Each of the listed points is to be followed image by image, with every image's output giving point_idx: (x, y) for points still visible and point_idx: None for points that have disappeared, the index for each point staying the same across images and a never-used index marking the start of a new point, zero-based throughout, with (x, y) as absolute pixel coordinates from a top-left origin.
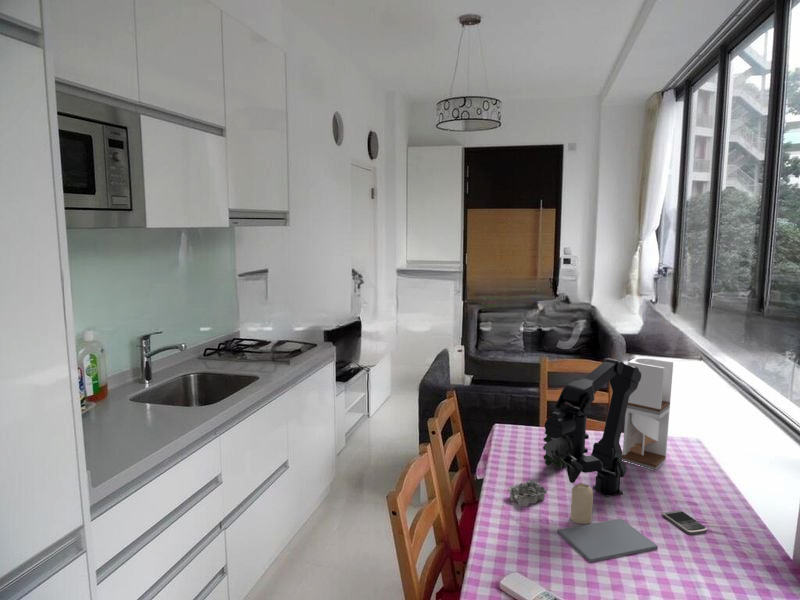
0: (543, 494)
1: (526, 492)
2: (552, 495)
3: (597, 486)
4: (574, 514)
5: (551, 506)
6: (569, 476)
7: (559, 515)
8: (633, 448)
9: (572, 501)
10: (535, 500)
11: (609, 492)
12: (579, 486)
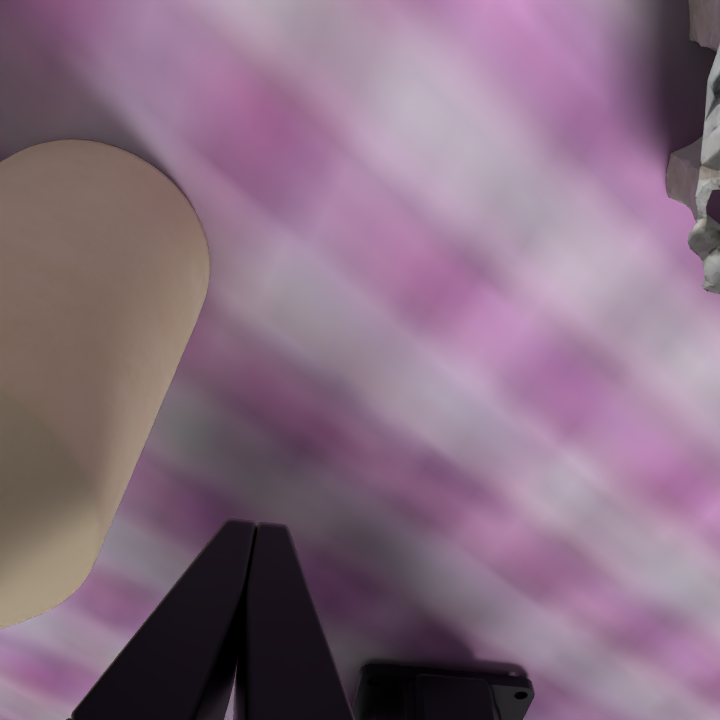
0: (700, 191)
1: None
2: (665, 335)
3: (463, 707)
4: (20, 165)
5: (489, 148)
6: (251, 615)
7: (262, 79)
8: None
9: (8, 234)
10: (701, 2)
11: (374, 711)
12: None
